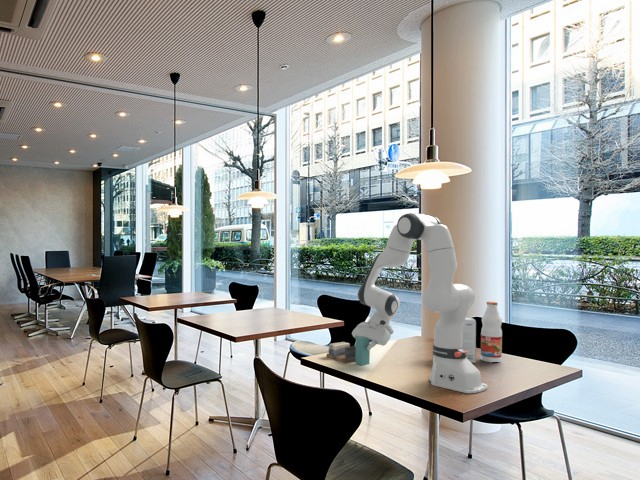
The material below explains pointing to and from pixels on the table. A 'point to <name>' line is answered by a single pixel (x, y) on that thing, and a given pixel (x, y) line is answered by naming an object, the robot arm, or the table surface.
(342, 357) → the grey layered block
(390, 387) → the table surface
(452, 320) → the robot arm
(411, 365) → the table surface
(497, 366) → the table surface
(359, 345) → the teal rectangular block
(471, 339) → the hard drive box
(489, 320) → the fruit juice
